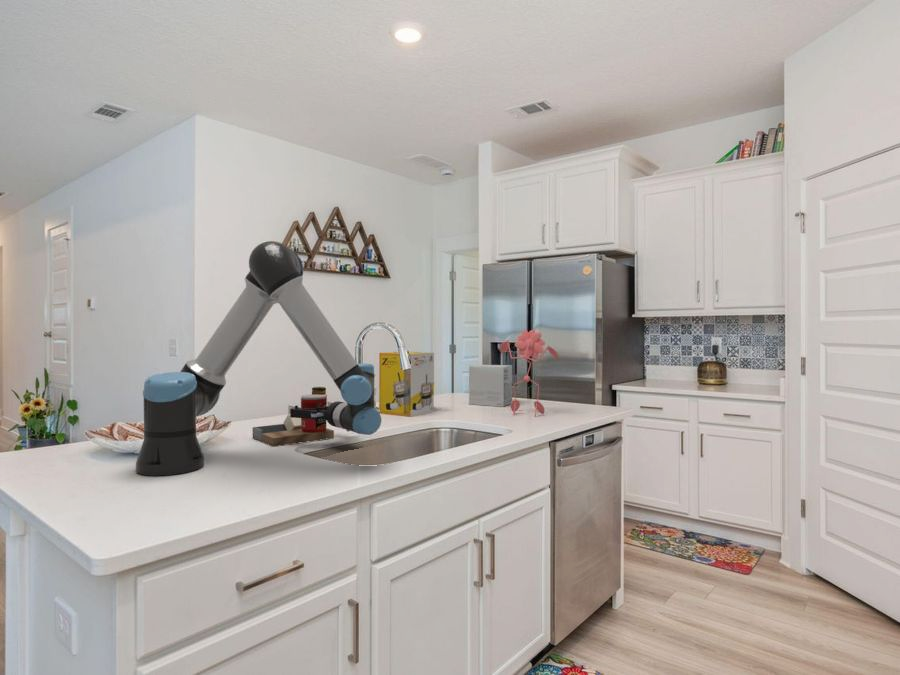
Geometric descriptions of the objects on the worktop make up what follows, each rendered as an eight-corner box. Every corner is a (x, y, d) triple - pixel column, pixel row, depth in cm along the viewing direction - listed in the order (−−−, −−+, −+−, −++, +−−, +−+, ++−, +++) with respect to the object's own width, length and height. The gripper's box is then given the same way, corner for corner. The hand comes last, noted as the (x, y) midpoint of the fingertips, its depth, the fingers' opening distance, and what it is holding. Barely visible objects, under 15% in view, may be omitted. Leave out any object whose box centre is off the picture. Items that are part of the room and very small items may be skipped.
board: (273, 446, 165) (273, 438, 165) (261, 441, 172) (261, 433, 172) (333, 438, 178) (333, 430, 178) (320, 434, 185) (320, 426, 185)
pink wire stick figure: (555, 418, 219) (556, 329, 220) (493, 413, 231) (494, 329, 231) (565, 414, 233) (566, 330, 233) (506, 410, 245) (507, 329, 245)
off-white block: (294, 426, 179) (288, 413, 181) (289, 434, 181) (283, 422, 184) (306, 424, 182) (300, 412, 185) (301, 432, 185) (295, 420, 187)
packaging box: (411, 416, 222) (411, 353, 222) (379, 413, 231) (379, 352, 230) (433, 411, 236) (434, 352, 235) (402, 408, 244) (403, 351, 244)
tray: (261, 441, 172) (261, 430, 172) (252, 438, 178) (252, 427, 178) (320, 434, 185) (320, 423, 185) (310, 430, 191) (310, 420, 191)
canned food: (320, 433, 173) (320, 397, 173) (296, 432, 175) (296, 397, 175) (330, 428, 181) (330, 394, 181) (307, 427, 183) (307, 394, 182)
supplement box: (512, 403, 263) (513, 365, 263) (503, 407, 251) (504, 366, 251) (478, 401, 270) (478, 363, 270) (468, 404, 258) (468, 365, 258)
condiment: (330, 417, 220) (330, 386, 220) (321, 420, 212) (321, 389, 212) (313, 416, 222) (313, 386, 221) (303, 420, 213) (303, 388, 213)
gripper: (303, 433, 156) (272, 423, 172) (378, 423, 172) (343, 415, 188) (303, 406, 156) (272, 398, 172) (378, 399, 172) (343, 392, 188)
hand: (309, 407), depth 180 cm, fingers open, 13 cm apart
